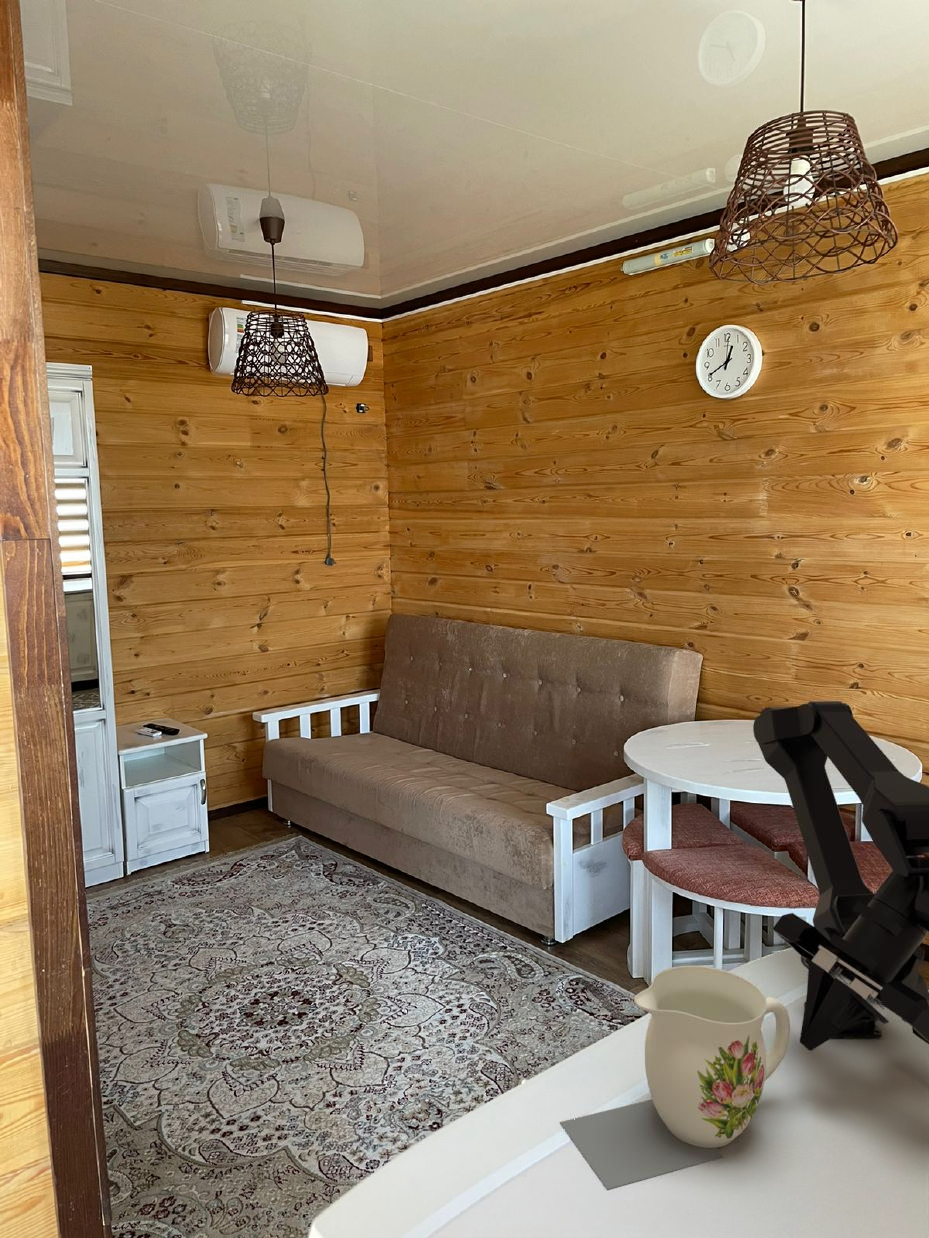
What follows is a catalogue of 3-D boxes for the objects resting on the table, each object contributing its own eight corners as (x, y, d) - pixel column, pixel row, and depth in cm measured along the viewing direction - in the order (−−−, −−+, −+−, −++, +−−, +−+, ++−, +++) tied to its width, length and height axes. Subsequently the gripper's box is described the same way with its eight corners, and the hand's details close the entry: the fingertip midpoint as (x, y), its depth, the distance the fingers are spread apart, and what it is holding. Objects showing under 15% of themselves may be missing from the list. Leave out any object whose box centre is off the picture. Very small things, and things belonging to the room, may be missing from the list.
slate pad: (667, 1104, 91) (668, 1094, 91) (723, 1166, 83) (724, 1155, 83) (559, 1131, 87) (559, 1121, 87) (606, 1199, 78) (607, 1189, 78)
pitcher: (823, 1134, 86) (835, 996, 84) (664, 1186, 79) (674, 1036, 77) (744, 1067, 96) (753, 942, 94) (596, 1108, 89) (603, 973, 87)
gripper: (1021, 1007, 85) (925, 1146, 83) (869, 918, 103) (786, 1032, 101) (962, 946, 81) (859, 1091, 79) (814, 864, 99) (727, 982, 97)
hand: (804, 1046), depth 89 cm, fingers closed
